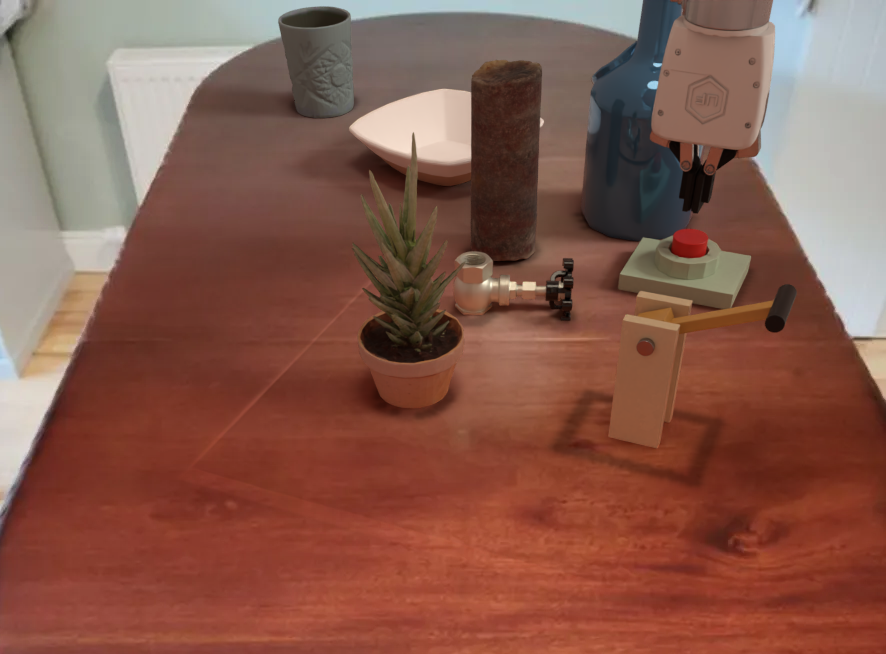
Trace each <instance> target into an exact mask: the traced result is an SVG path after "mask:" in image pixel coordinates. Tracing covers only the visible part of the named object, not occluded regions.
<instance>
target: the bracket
mask: <svg viewBox="0 0 886 654" xmlns="http://www.w3.org/2000/svg"><path fill="white" fill-rule="evenodd" d="M635 298H636V299H635V306H634V312H633V313H634V314H628V313H626V314H625V315H624V317H623V318H622V321H621V329H620V338H619V345H618V346H619V347H618V354H617V361H616V362H617V363H616V370H615V376H614V377H615V378H614V387H613V395H612V402H611V410H610V419H609V428H608V438H611V439H615V440H620V441H624V442H628V443H631V444H637V445H640V446H645V447H649V448H653V449H658V448H659V447H660V444H661V441H662V435H663V429H664V423H667V424H670V423H671V422H672V419H673V416H674V410H675V404H676V400H677V399H676V397H677V391H678V388H679V382H680V376H681V369H682V365H683V359H684V353H685V348H686V341H687V335H688V333H684V334H679V329H680V325H679V324H674V323H669V322H664V321H659V320H654V319H649V318H644V317H639V316H638V314H639V313H644V312H649V311H655V310H660V309H666V308H671V309H672V312H673V316H674V318H678V317H684V316H689V315H691V312H692V308H693V307H692V306H693V303H692V302H693V301H692V300H687V299H682V298H676V297H671V296H666V295H660V294H655V293H650V292H644V291H640V292H639V293H637V295H636V296H635Z"/></svg>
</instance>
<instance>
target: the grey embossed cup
mask: <svg viewBox="0 0 886 654" xmlns="http://www.w3.org/2000/svg"><path fill="white" fill-rule="evenodd" d="M277 24H278V28H279V33H280V37H281V42H282V45H283V49H284V57H285V59H286V65H287V69H288V75H289V79H290V82H291V84H292V85H291V91H292V96H293V101H294V100H295V101H294V107H295V110H296V111H297V113H298V114H300V116H301V115H302V116H304V117H308V118H314V119H327V118H334V117H335V118H336V117H339V116H343V115H346V114H347V113H349V112H351V111H352V110H353V109H354V105H355V94H354V79H353V78H354V69H353V67H354V64H353V63H354V62H353V61H354V60H353V56H352V48H353V47H352V15H351V12H349V11H348V10H346V9H344V8H340V7H336V6H329V5H328V6H324V5H323V6H322V5H321V6H308V7H307V6H306V7H301V8H296V9H292V10H289V11H286V12H285V13H283V14H281V15H280V16H279V17H278V20H277ZM296 102H297V103H296Z"/></svg>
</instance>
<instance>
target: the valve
mask: <svg viewBox="0 0 886 654" xmlns="http://www.w3.org/2000/svg"><path fill="white" fill-rule="evenodd" d="M465 261H466V262H465ZM463 262H465V264H464V266H463V267H462V269H461V270H460V271H459V272H458V273H457V275H456V276H455V279H454V281H453V285H452V295H453V298H454V301H455V304H454V307H455V308H456V309H457V310H458V311H459V312H460V313H461V314H462V316H483V315H484V314H485V313H487V312H488V311H489V310H491V308H493V304H492V303H498V305H499V306H510V300H516V299H517V298H518V297H521V299H522V300H536V297H544V298H545V299H544V300H545V302H548V306H549V307H550V309H551V310H561V312H562V314H563V315H564V316H562V315H561V316H560V321H561V322H571V317H572V314H571V312H572V311H573V299H572V291H573V289H574V282H575V279H574V276H573V272H574V266H575V261H574V259H573V258H572V257H563V258H562V263H561V266H562V267H563V269H564V270H562V269H561V270H556V271H554V272H552V274H551V275H550V277H549V280H545V285H537V282H536V281H522V284H518V283H517V281H511V275H510V274H499V277H497V278H496V277H492V276H494V275H493V272H494V270H493V269H494V261H493V260H492V259H491V258H490V257H489V256H488V255H487V254H485V253H482V252H476V251H472V250H471V251H467V252H463V253H461V254H459V255H458V256H456V258H455V259H454V271H455V270H456V269H457V268H458V267H459V266H460V265H461V263H463ZM558 278H560V280H557V279H558ZM555 302H561V304H556V303H555Z"/></svg>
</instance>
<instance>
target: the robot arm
mask: <svg viewBox="0 0 886 654" xmlns="http://www.w3.org/2000/svg"><path fill="white" fill-rule="evenodd" d="M670 2H673V3H678V5H682V6H681V9H683V12H682V15H681V16H680V17H678V18H677V19H676V20H675V21H674V23H673V26H672V29H671V32H670V35H669V39H668V42H667V46H666V49H665V54H664V58H663V62H662V67H661V71H660V76H659V81H658V86H657V91H656V96H655V102H654V107H653V113H652V122H651V127H652V131H651V133H650V140H651V141H652V142H654V143H657V144H659V145H661V146H664V147H668V148H670V150H671V151H672V153H673V154H674V156H675V157H676V158H677V160H678V161H679V163H680V168H681V169H682V170H683V175H682V181H681V187H680V193H679V198H680V199H684V203H683V209H682V211H684V212H688V211H690V210H691V211H693V214H696V215H697V214H699V213H700V211H701V209H702V207H703V206H704V204H710V202H711V199H712V195H713V189H714V184H715V180H716V174H717V171H718V170H720V169H721V168H722V167H724V166H725V165H727V164H728V163H730V162H731V161H732V160H734V159H747V158H755V157H757V156H758V155H759V153H760V152H761V149H762V127H763V125H764V122H765V118H766V115H767V114H766V113H767V110H768V109H767V108H768V103H769V98H770V92H771V84H772V79H773V78H772V77H773V70H774V69H773V68H774V60H775V47H776V46H775V44H776V25H775V24H774V23H773V22H772V21H770V19H771V14H772V8H773V4H774V0H670ZM699 145H703V146H705V147H709V151H708V155H707V157H706V159H705V160H704V162H703V163H702V164H701V161H700V158H699Z"/></svg>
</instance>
